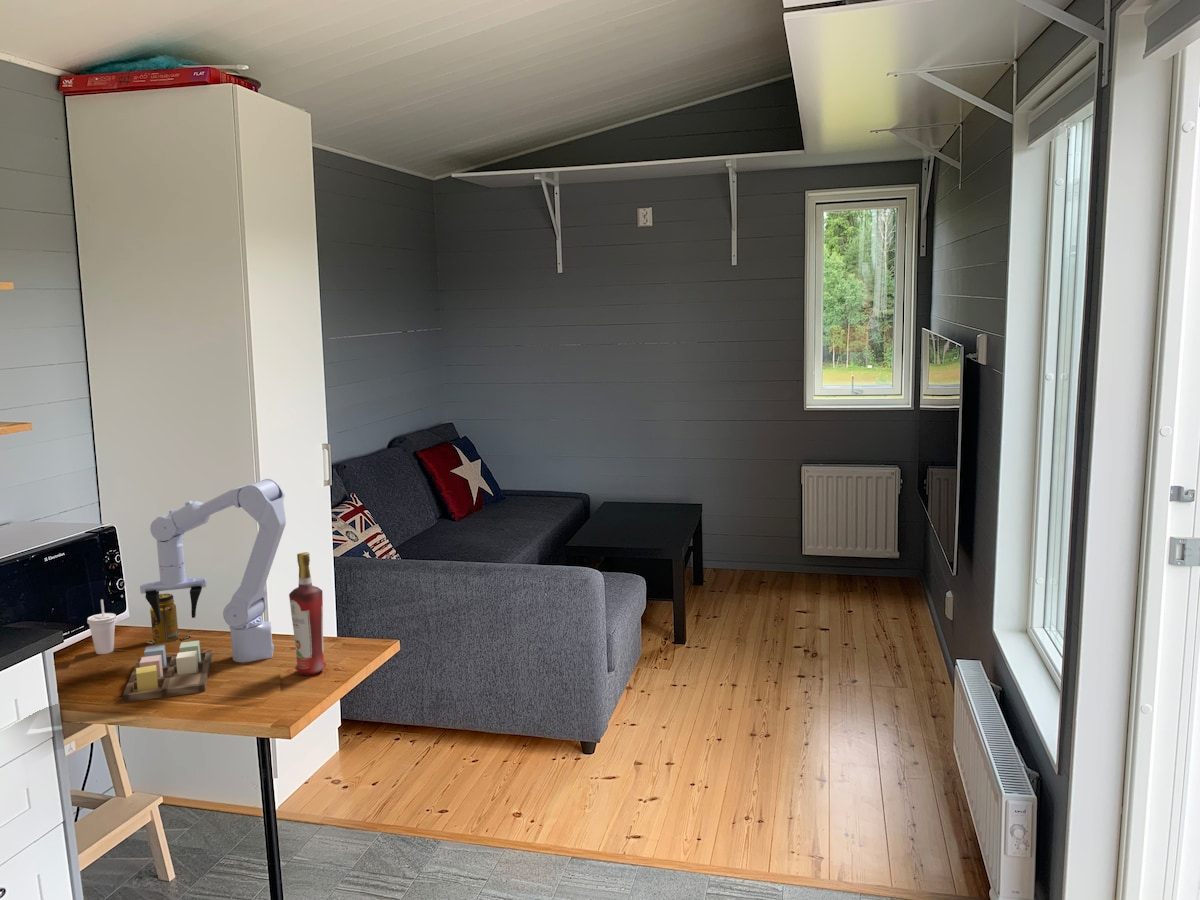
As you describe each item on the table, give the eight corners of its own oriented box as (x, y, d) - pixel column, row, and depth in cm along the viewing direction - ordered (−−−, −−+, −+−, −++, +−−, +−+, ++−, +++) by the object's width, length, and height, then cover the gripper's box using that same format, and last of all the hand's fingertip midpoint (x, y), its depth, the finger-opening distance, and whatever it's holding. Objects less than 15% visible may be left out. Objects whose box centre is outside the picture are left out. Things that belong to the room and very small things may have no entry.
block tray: (212, 659, 230) (211, 650, 230) (205, 694, 208) (204, 684, 207) (138, 668, 225) (138, 659, 225) (123, 705, 203) (122, 695, 202)
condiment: (145, 643, 243) (141, 597, 242) (173, 633, 251) (170, 589, 249) (164, 647, 240) (160, 601, 238) (192, 637, 247) (189, 592, 246)
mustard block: (158, 686, 211) (156, 664, 210) (158, 692, 208) (156, 670, 207) (138, 689, 209) (136, 668, 209) (138, 696, 206) (136, 674, 205)
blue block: (166, 664, 225) (164, 644, 224) (164, 670, 221) (163, 649, 220) (148, 667, 223) (146, 646, 223) (145, 673, 220) (144, 652, 219)
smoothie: (107, 659, 232) (102, 604, 230) (84, 658, 233) (78, 603, 231) (125, 650, 238) (120, 596, 236) (103, 649, 239) (97, 595, 237)
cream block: (198, 671, 220) (196, 650, 219) (197, 677, 216) (195, 656, 216) (179, 673, 219) (177, 652, 218) (177, 679, 215) (176, 658, 214)
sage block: (200, 660, 227) (199, 640, 226) (199, 666, 223) (197, 645, 223) (182, 662, 226) (181, 642, 225) (181, 668, 222) (179, 647, 221)
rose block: (163, 675, 218) (161, 654, 217) (161, 681, 214) (159, 660, 213) (143, 678, 216) (141, 657, 216) (141, 684, 213) (139, 662, 212)
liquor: (288, 673, 219) (279, 555, 216) (314, 663, 225) (306, 548, 222) (308, 679, 215) (299, 559, 211) (334, 669, 221) (326, 552, 217)
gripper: (205, 557, 234) (209, 610, 236) (141, 563, 230) (146, 617, 232) (203, 563, 228) (207, 618, 230) (136, 570, 223) (142, 625, 225)
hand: (176, 618), depth 230 cm, fingers open, 7 cm apart
